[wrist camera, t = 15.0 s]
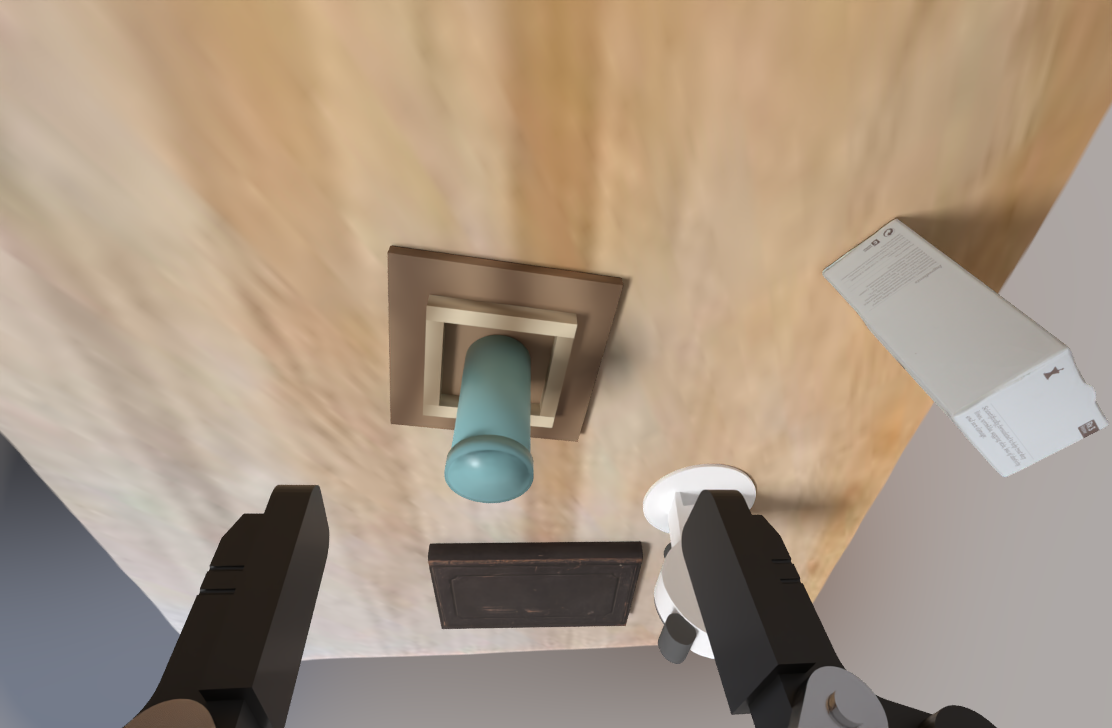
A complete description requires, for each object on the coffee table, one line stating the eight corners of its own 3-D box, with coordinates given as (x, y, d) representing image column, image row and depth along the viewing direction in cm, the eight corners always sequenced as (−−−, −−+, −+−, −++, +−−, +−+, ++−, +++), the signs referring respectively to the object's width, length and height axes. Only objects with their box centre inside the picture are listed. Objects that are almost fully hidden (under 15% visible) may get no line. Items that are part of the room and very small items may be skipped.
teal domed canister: (459, 382, 43) (441, 498, 34) (466, 327, 39) (448, 442, 31) (526, 391, 44) (525, 506, 35) (539, 338, 40) (541, 452, 32)
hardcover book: (623, 608, 70) (625, 625, 68) (444, 610, 69) (441, 629, 67) (640, 536, 60) (643, 555, 58) (430, 538, 59) (427, 558, 57)
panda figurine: (628, 532, 58) (653, 683, 47) (646, 462, 51) (680, 620, 40) (737, 533, 59) (787, 682, 47) (769, 464, 52) (838, 620, 40)
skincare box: (818, 270, 39) (940, 417, 27) (899, 211, 36) (1073, 345, 24) (873, 333, 42) (1001, 486, 31) (950, 284, 40) (1121, 430, 28)
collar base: (393, 415, 46) (387, 436, 44) (390, 245, 36) (383, 262, 34) (576, 433, 48) (578, 453, 46) (621, 278, 38) (626, 296, 37)
